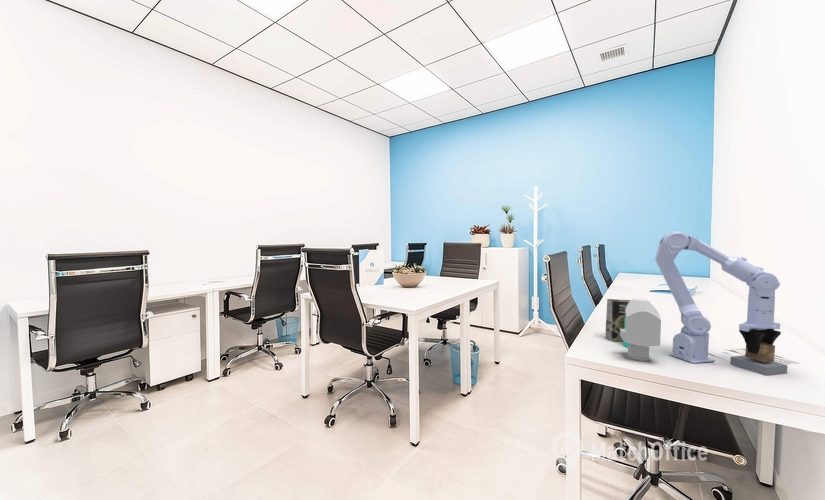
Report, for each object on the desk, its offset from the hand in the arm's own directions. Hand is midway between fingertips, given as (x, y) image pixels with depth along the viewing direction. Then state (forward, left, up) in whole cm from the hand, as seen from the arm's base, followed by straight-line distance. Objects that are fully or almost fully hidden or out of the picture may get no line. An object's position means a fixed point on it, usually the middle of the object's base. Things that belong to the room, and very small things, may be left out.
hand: (758, 352), depth 101 cm
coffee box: (-18, +33, -5) cm, 38 cm away
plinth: (0, 0, -5) cm, 5 cm away
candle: (-21, +25, -5) cm, 33 cm away
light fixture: (-30, +15, -5) cm, 34 cm away
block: (0, 0, -2) cm, 2 cm away
